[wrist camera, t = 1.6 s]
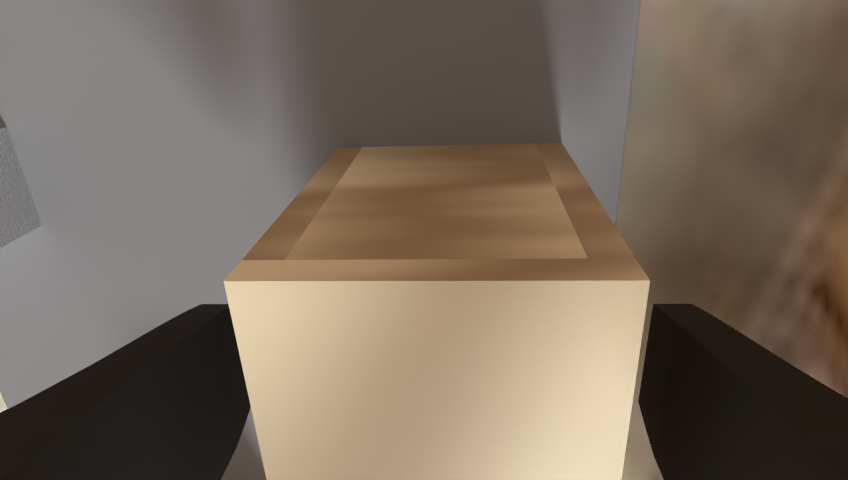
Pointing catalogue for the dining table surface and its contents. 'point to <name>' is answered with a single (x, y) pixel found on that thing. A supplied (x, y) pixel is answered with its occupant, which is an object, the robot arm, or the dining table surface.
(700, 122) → the dining table surface
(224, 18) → the slate mat
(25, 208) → the steel post
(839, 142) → the dining table surface
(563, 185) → the wood block
